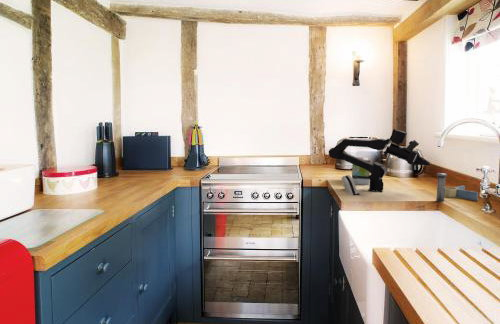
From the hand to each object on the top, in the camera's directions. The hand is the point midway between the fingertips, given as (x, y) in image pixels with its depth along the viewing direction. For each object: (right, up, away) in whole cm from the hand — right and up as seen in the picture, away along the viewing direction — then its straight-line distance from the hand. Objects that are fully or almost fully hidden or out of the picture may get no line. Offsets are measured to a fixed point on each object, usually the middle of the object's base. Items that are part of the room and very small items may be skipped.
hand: (429, 163), depth 186 cm
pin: (0, -17, -10) cm, 20 cm away
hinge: (-37, -15, +10) cm, 41 cm away
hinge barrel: (+14, -16, 0) cm, 21 cm away
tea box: (-23, -12, +39) cm, 46 cm away
